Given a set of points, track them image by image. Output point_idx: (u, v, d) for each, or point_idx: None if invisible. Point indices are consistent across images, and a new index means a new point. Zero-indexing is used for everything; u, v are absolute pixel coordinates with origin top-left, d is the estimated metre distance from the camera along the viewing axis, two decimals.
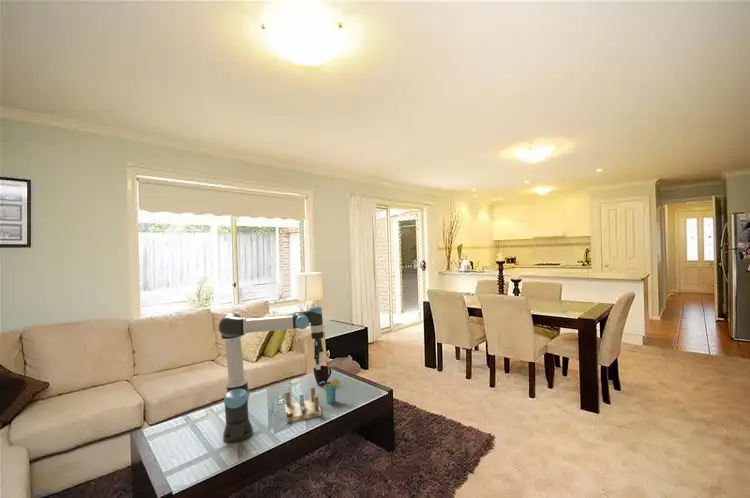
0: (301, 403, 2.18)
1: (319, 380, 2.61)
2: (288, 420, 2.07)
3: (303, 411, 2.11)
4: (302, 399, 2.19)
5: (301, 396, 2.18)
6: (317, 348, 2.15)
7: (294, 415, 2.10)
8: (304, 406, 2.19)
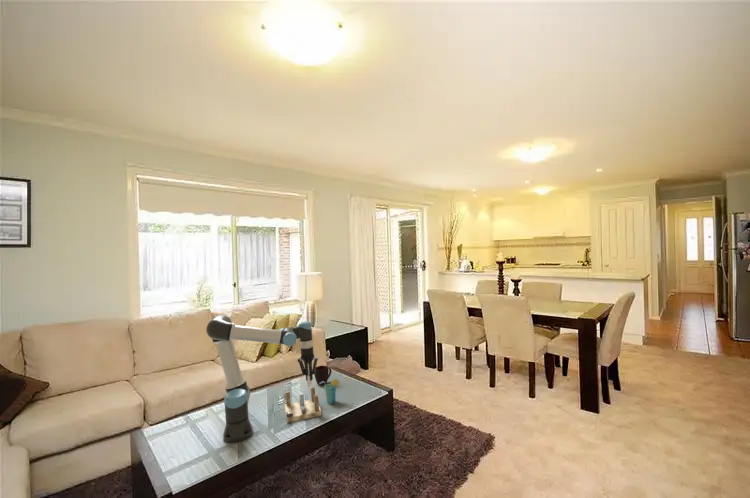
0: (301, 403, 2.18)
1: (319, 380, 2.61)
2: (288, 420, 2.07)
3: (303, 411, 2.11)
4: (302, 399, 2.19)
5: (301, 396, 2.18)
6: None
7: (294, 415, 2.10)
8: (304, 406, 2.19)
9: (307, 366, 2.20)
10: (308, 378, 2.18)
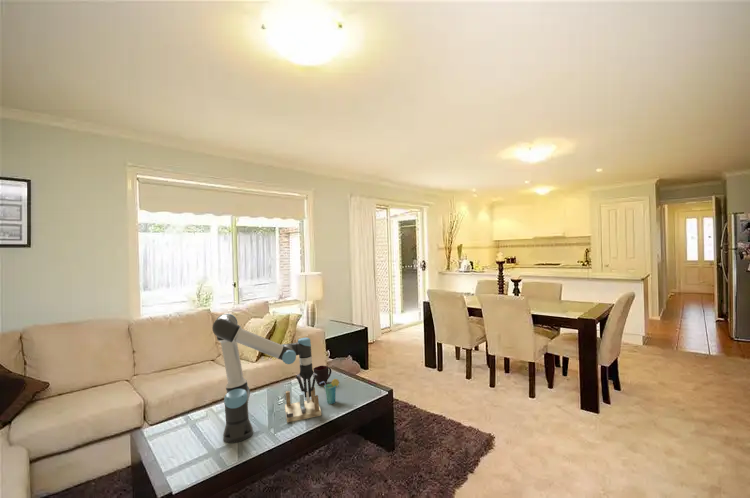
0: (301, 403, 2.18)
1: (319, 380, 2.61)
2: (288, 420, 2.07)
3: (303, 411, 2.11)
4: (302, 399, 2.19)
5: (301, 396, 2.18)
6: None
7: (294, 415, 2.10)
8: (304, 406, 2.19)
9: (306, 383, 2.20)
10: (307, 395, 2.18)
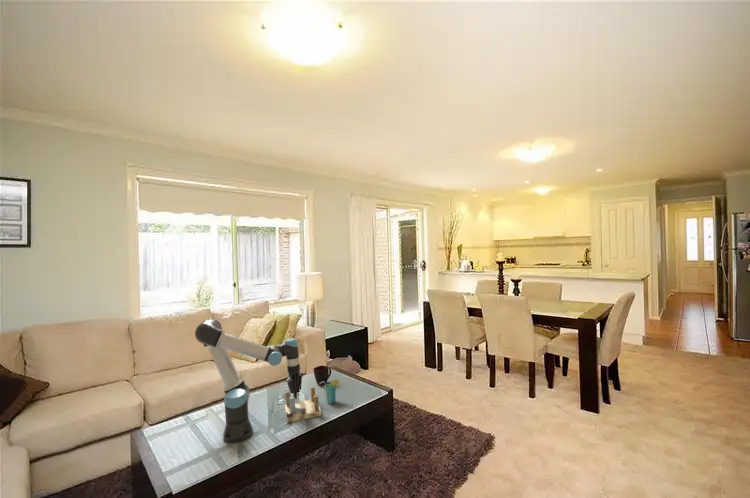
0: (293, 406, 2.14)
1: (319, 380, 2.61)
2: (288, 420, 2.07)
3: (304, 411, 2.12)
4: (294, 402, 2.15)
5: (293, 399, 2.15)
6: (290, 385, 2.13)
7: (294, 415, 2.10)
8: None
9: None
10: (297, 395, 2.17)
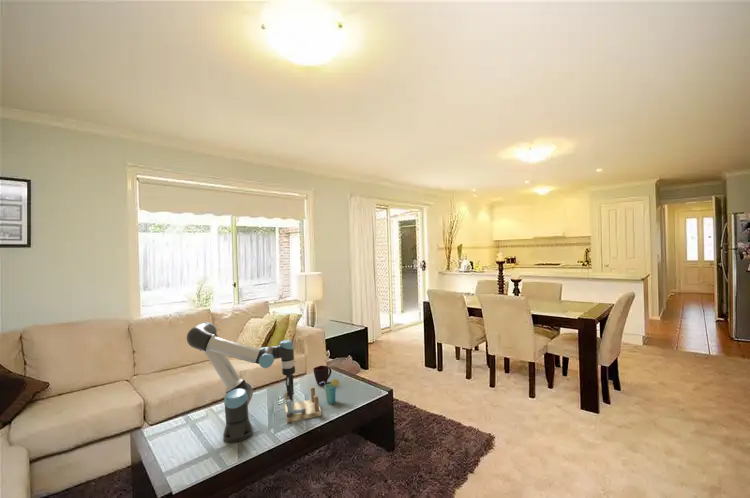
0: (291, 409, 2.11)
1: (319, 380, 2.61)
2: (288, 420, 2.07)
3: (305, 410, 2.12)
4: (291, 405, 2.11)
5: (291, 402, 2.11)
6: (289, 387, 2.10)
7: (294, 415, 2.10)
8: None
9: None
10: (293, 397, 2.14)
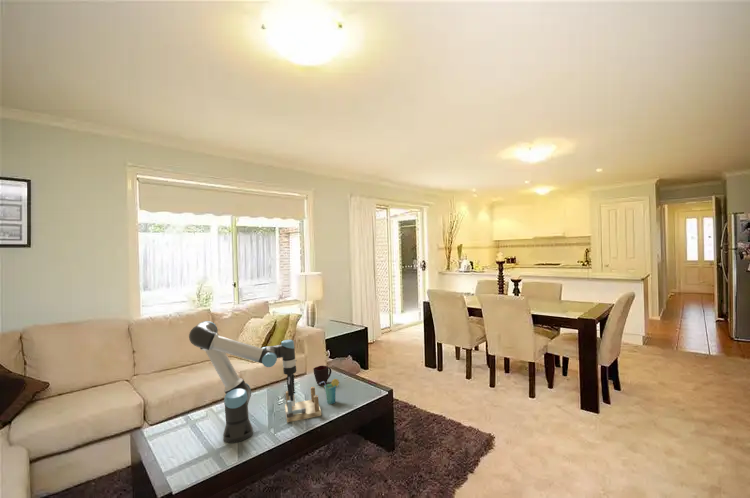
0: None
1: (319, 380, 2.61)
2: (288, 420, 2.07)
3: None
4: (291, 405, 2.11)
5: None
6: (290, 387, 2.11)
7: (294, 415, 2.10)
8: (292, 412, 2.12)
9: None
10: (294, 397, 2.16)
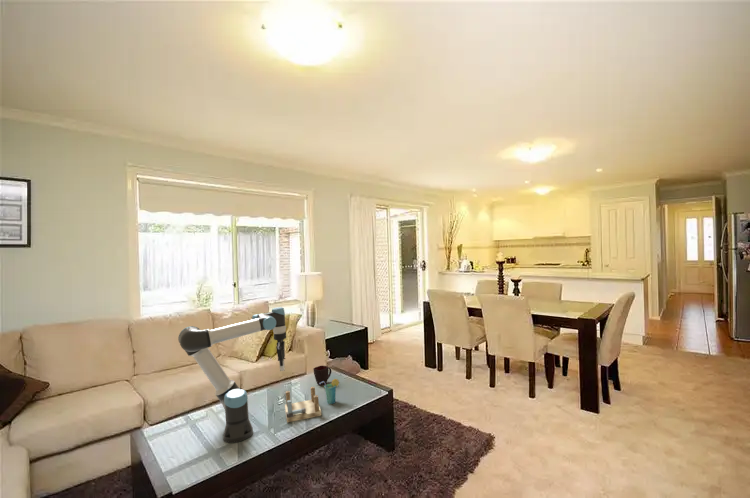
0: None
1: (319, 380, 2.61)
2: (288, 420, 2.07)
3: None
4: (291, 405, 2.11)
5: None
6: (280, 352, 2.18)
7: (294, 415, 2.10)
8: (292, 412, 2.12)
9: None
10: None
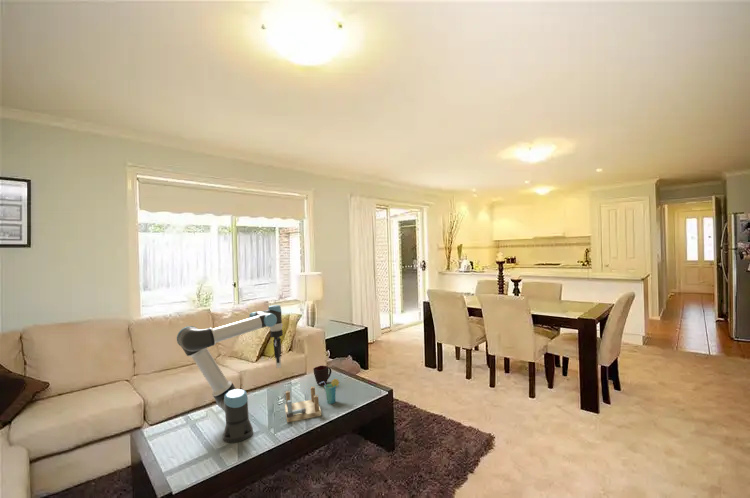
0: None
1: (319, 380, 2.61)
2: (288, 420, 2.07)
3: None
4: (291, 405, 2.11)
5: None
6: (277, 349, 2.21)
7: (294, 415, 2.10)
8: (292, 412, 2.12)
9: None
10: (280, 359, 2.26)
